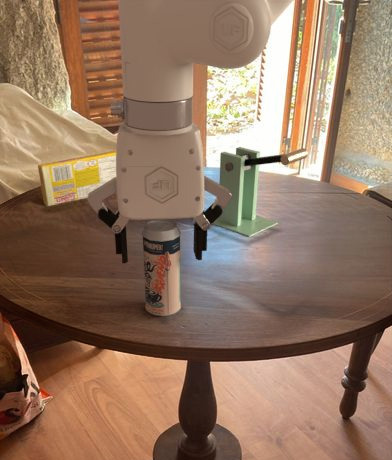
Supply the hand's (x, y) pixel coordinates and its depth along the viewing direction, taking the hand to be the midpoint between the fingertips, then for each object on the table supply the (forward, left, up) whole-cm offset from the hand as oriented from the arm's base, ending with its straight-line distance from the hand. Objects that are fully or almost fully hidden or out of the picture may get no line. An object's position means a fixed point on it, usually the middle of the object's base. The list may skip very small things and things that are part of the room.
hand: (161, 256), depth 72 cm
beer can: (0, 0, -8) cm, 8 cm away
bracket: (-15, -27, -8) cm, 32 cm away
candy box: (+12, -42, -8) cm, 45 cm away
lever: (-19, -23, +4) cm, 30 cm away
